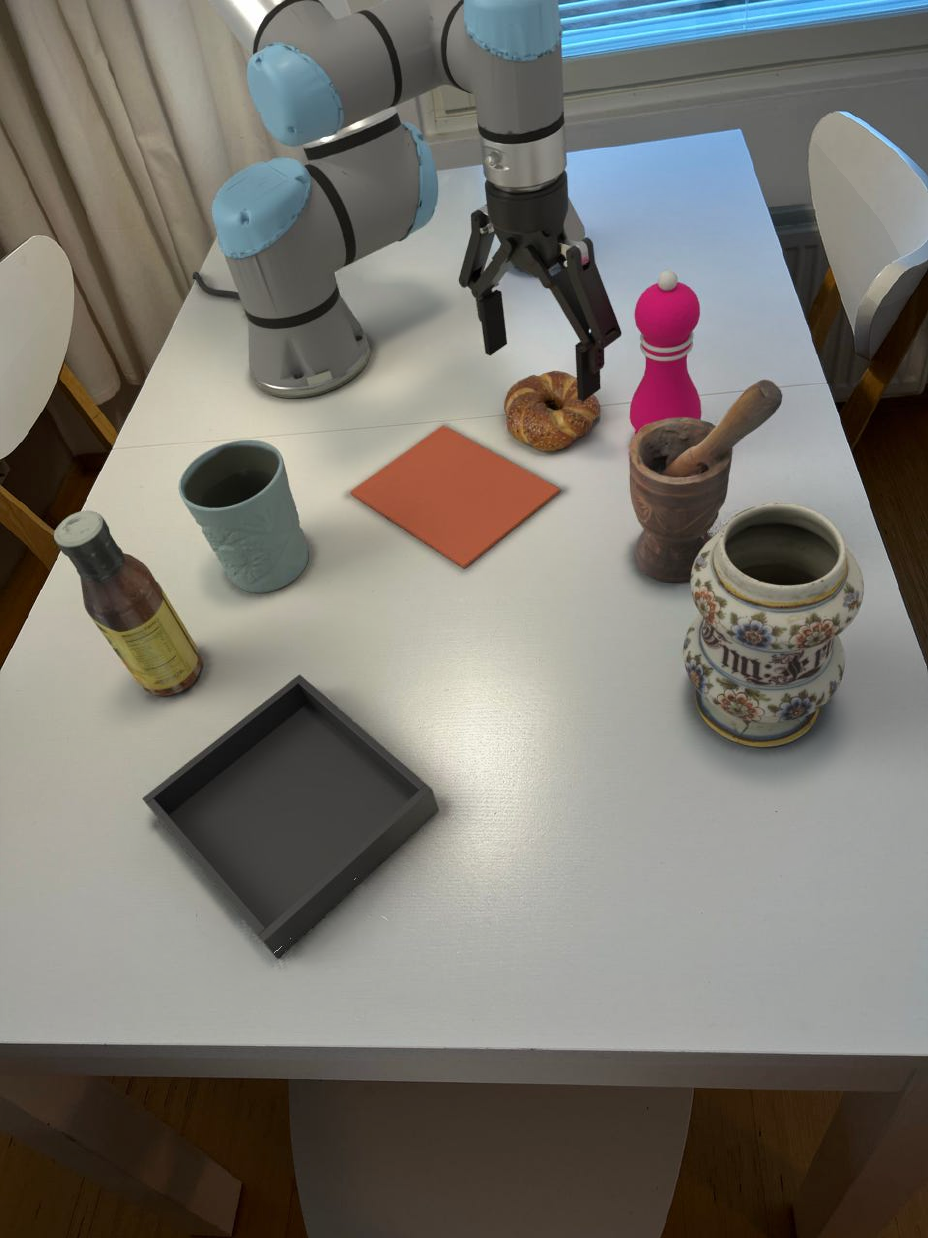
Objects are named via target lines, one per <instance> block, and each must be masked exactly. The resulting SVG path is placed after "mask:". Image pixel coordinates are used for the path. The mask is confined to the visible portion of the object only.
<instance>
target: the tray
mask: <svg viewBox="0 0 928 1238" xmlns="http://www.w3.org/2000/svg"><path fill="white" fill-rule="evenodd" d="M142 801H143V802H144V803H145V804H146V806H147V807H148V809H150V811H151V812H152V813H153V815H154V816H155V817H156V818H157V819H158V820H159V822H160V823H161V824H162V826H164V828H165V829H166V830H167V831H168V833H169V834H170V835H171V836H172V837H173V838H174V839H175V841H176V842H177V843H178V844H179V845H180V847H181V848H182V849H183V850H184V851H185V852H186V853H187V855H188V856H189V857H190V859H192V861H193V862H194V863H195V864H196V865H197V866H198V868H199V869H200V870H201V871H202V872H203V874H204V875H205V876H206V877H207V878H208V879H209V880H210V882H211V883H212V884H213V886H214V887H215V888H216V889H217V890H218V891H219V892H220V894H221V895H222V897H224V898H225V899H226V901H227V902H228V903H229V904H230V906H232V908H233V909H234V910H235V912H236V913H237V914H238V915H239V916H240V917H241V919H243V920H244V921H245V923H246V924H247V925H248V926H249V928H250V929H251V930H252V931H253V932H254V934H255V935H256V936H257V937H258V936H259V937H258V938H259V939H260V941H261V942H262V943H263V944H264V946H266V947H267V949H268V950H269V951H270V952H271V953H272V955H273V956H274V957H275V958H276V959H277V960H279V959H280V958H281V957H282V956H283V955H284V954H285V953H286V952H287V951H288V950H289V949H290V948H291V947H292V946H294V945H295V944H296V943H297V942H298V941H299V940H300V939H301V938H302V937H304V935H306V934H307V933H308V932H309V931H310V930H311V929H312V928H313V927H314V926H315V925H316V924H318V922H320V921H321V920H322V919H323V918H324V917H325V916H326V915H327V914H328V913H329V912H330V911H331V910H333V908H335V907H336V906H337V905H338V904H340V902H342V900H344V898H345V897H347V896H348V895H349V894H350V893H351V892H352V891H353V890H354V889H355V888H357V887H358V885H359V884H361V883H362V882H363V881H364V880H365V879H366V878H367V877H369V876H370V875H371V873H373V872H374V871H375V870H376V869H377V868H378V867H379V866H380V865H381V864H382V863H384V862H385V861H386V860H387V859H388V858H389V857H390V856H391V855H392V854H393V853H394V852H395V851H396V850H397V849H398V848H400V847H401V846H402V845H403V844H404V843H405V842H406V841H408V839H410V838H411V836H413V835H414V834H415V833H416V832H417V831H418V830H419V829H420V828H421V827H423V825H425V824H426V822H428V821H430V819H431V818H432V817H433V816H434V815H436V813H438V811H439V810H440V809H439V806H438V803H437V801H436V797H435V794H434V791H433V789H432V787H431V786H429V785H428V784H427V783H426V782H425V781H423V779H422V778H420V777H419V776H418V775H417V774H416V773H415V772H413V771H412V770H411V769H410V768H408V767H407V766H406V765H405V764H404V763H403V762H401V761H400V760H399V759H398V758H397V757H396V756H395V755H393V754H392V752H390V751H389V750H387V748H386V747H384V746H383V745H382V744H381V743H380V742H379V741H377V739H375V738H374V737H373V736H371V735H370V734H369V732H367V731H366V730H365V729H363V727H361V726H360V725H359V724H358V723H357V722H356V721H354V720H353V719H352V718H351V717H350V716H349V715H347V714H346V713H345V712H344V711H343V710H342V709H341V708H339V707H338V706H337V705H336V704H335V703H333V702H332V700H330V699H329V698H328V697H327V696H326V695H324V694H323V693H322V692H321V691H320V690H319V689H318V688H316V687H315V686H314V685H313V684H311V683H310V682H309V681H308V680H307V679H306V678H305V677H303V675H301V674H298V675H297V676H296V677H294V678H293V679H292V680H290V681H289V682H288V683H287V684H285V685H283V687H281V688H280V689H279V690H277V691H276V692H275V693H274V694H273V695H271V696H270V697H268V699H266V700H265V701H264V702H262V703H261V704H260V705H258V706H257V707H256V708H254V709H253V710H252V711H251V712H250V713H248V714H247V715H246V716H245V717H243V718H242V719H241V720H239V721H238V722H237V723H236V724H234V725H233V726H232V727H231V728H229V729H228V730H227V731H225V732H224V733H223V734H222V735H221V736H219V737H218V738H217V739H215V740H214V741H213V742H212V743H210V744H209V745H208V746H207V747H206V748H204V749H203V750H201V751H200V752H199V753H197V754H196V755H195V756H194V757H193V758H191V759H190V760H189V761H187V762H186V763H185V764H183V765H182V766H181V767H180V768H179V769H177V770H176V771H175V772H173V774H171V775H170V776H169V777H167V778H166V779H165V780H163V781H162V782H161V783H159V784H158V785H157V786H156V787H155V788H153V789H152V790H151V791H150V792H148V793H147V794H146V795H145V796H143V797H142ZM355 878H356V879H355ZM354 879H355V880H354ZM290 938H291V939H290ZM281 946H282V947H281ZM280 947H281V948H280ZM279 948H280V949H279ZM278 949H279V950H278ZM276 950H278V951H276ZM275 951H276V952H275ZM274 952H275V953H274ZM273 953H274V954H273Z"/></svg>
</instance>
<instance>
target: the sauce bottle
mask: <svg viewBox="0 0 928 1238" xmlns="http://www.w3.org/2000/svg"><path fill="white" fill-rule="evenodd" d="M53 539H54V541H55V544H56V545H57V547H58V549H59V550H60V551H61V553H62V554H63V555H64V556H66V557H68V560H69V561H70V562H71V563H72V564H73V566H74V568H75V569H76V573H77V574H78V575H79V579H80V585H81V591H82V593H81V594H82V600H83V606H84V609H85V611H86V613H87V615H89V617H90V619H91V620H92V621H93V623H94V624H95V625H96V627H97V628H98V629H99V631H100V632H101V634H102V635H103V636H104V638H105V639H106V641H107V642H108V644H109V645H110V647H112V650H113V651H114V652H115V654H116V655H117V657H118V658H119V659H120V660H121V662H122V663H123V665H124V666H125V668H126V669H127V671H128V673H130V674H131V676H132V677H133V679H134V680H135V681H136V683H137V684H138V685H140V686H141V687H142V689H143V690H144V691H145V692H146V693H147V692H148V693H149V694H152V695H154V696H161V697H168V696H173V695H175V694H179V693H181V692H183V691H185V690H186V689H188V688H190V686H192V685H193V684H194V683H195V681H196V680H197V678H198V677H199V674H200V672H201V669H202V665H203V661H202V656H201V654H200V653H199V651H198V646H197V644H196V643H195V641H194V640H193V638H192V636H191V634H190V633H189V631H188V629H187V628H186V626H185V624H184V623H183V620H182V619H181V618H180V616H179V614H178V613H177V611H176V609H175V608H174V606H173V605H172V603H171V601H170V599H169V598H168V596H167V594H166V593H165V591H164V589H163V588H162V586H161V585H160V583H159V582H158V581H156V578H155V577H154V575H153V573H152V572H151V570H150V569H149V567H148V566H147V565H146V564H145V563H144V562H143V561H141V560H140V559H139V558H136V557H134V556H133V555H131V554H128V553H124V552H123V549H122V548H121V547H120V546H119V545H118V544H117V542H116V541H115V539H114V537H113V535H112V534H111V530H110V527H109V525H108V523H107V521H106V520H105V518H104V517H103V515H102V514H100V513H98V512H97V511H95V510H81V511H78V512H77V511H76V512H75V513H73V514H70V515H68V516H67V517H65V519H63V520H62V521H61V522H60V523H59V524H58V526H57V527H56V529H54V532H53Z"/></svg>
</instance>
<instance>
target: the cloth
mask: <svg viewBox="0 0 928 1238" xmlns="http://www.w3.org/2000/svg"><path fill="white" fill-rule="evenodd" d="M560 492H561V489H560V488H559V487H557V486H556V485H554V484H552V483H550V482H548V481H546V480H545V479H543V478H541V477H539V476H537V475H535V474H533V473H532V472H530V471H528V470H527V469H525V468H523V467H521V466H519V465H517V464H515V463H513V462H512V461H510V460H508V459H506V458H505V457H503V456H500V455H499V454H497V453H495V452H493V451H491V450H490V449H487V448H486V447H484V446H482V445H480V444H478V443H477V442H474V441H473V440H471V439H469V438H468V437H465V436H463V435H462V434H460V433H458V432H456V431H455V430H454V429H453V430H452V429H451V428H449V427H447V426H445V425H442V426H440V427H438V428H437V429H435V430H434V431H433V432H432V433H430V434H429V435H427V436H426V437H425V438H423V439H422V440H420V441H419V442H417V443H416V444H414V446H412V447H411V448H409V449H408V450H406V451H405V452H403V453H402V454H401V455H399V456H398V457H396V458H395V459H394V460H392V461H391V462H389V463H388V464H386V465H385V466H384V467H382V468H381V469H379V470H378V471H377V472H375V473H374V474H372V476H370V477H369V478H367V479H366V480H365V481H363V482H361V483H360V484H359V485H357V486H356V487H354V488H353V489H352V490H350V491H349V493H350V495H351V496H352V497H354V498H356V499H357V500H359V501H360V502H362V503H363V504H365V505H367V506H368V507H369V508H371V509H373V510H374V511H375V512H377V513H378V514H380V515H382V516H383V517H385V518H386V519H388V520H389V521H391V522H392V523H394V524H395V525H397V526H398V527H400V528H401V529H403V530H404V531H406V532H408V533H409V534H411V535H412V536H414V537H415V538H417V539H418V540H420V541H422V542H423V543H425V544H426V545H427V546H429V547H431V548H432V549H433V550H435V551H437V552H438V553H440V554H441V555H442V556H444V557H445V558H446V559H448V560H450V561H452V562H453V563H455V564H456V565H458V566H459V567H461V568H463V569H465V568H467V567H469V565H470V564H472V563H473V562H474V561H476V560H477V559H478V558H479V557H480V556H482V555H484V554H485V553H486V552H487V551H488V550H489V549H490V548H492V547H493V546H495V544H498V542H499V541H501V540H502V539H503V538H504V537H506V536H507V535H508V534H509V533H510V532H512V531H513V530H514V529H516V528H517V527H518V526H519V525H521V524H523V522H524V521H526V520H527V519H528V518H529V517H530V516H532V515H533V514H534V513H536V512H537V511H538V510H539V509H541V508H542V507H543V506H544V505H545V504H547V503H548V502H549V501H550V500H551V499H553V498H554V497H556V496H557V495H558V494H559V493H560Z"/></svg>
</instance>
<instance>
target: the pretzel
mask: <svg viewBox="0 0 928 1238" xmlns="http://www.w3.org/2000/svg"><path fill="white" fill-rule="evenodd" d="M503 408H504V413H505V415H506V419H505V421H506V426H507V430H508V432H509V433H510V434H511V436H512V437H513V438H514V439H515V440H517V441H518V442H520V443H522V444H525V445H526V444H527V445H530V446H531V447H533V448H534V449H535V450H537V451H541V452H556V451H559V450H561V449H564V448H567V447H568V446H570V445H571V444H573V442H574V441H575V440H576V438H580V437H584V436H586V435H587V434H589V432H590V430H591V429H592V427H593V423H594V422H593V421H595V420H597V418H598V417H599V415H600V414H601V411H602V409H601V405H600V402H599V400H598V399H597V397H596V396H595V393H594V394H593V395H591V396H590V397H589V398H587V399H586V400H585V401H584V402H583V401H581V400H579V399H578V393H577V376H576V377H575V376H574V375H571V374H570V373H567V372H564V371H560V370H551V371H548V372H544V373H541V374H540V375H536V374H531V375H529V376H527V377H524V378H522V379H520V380H518V381H517V382H516V383H515V384H513V385H512V386H511V387H510V388H509V389H508V391H507V392H506V394H505V398H504V402H503ZM554 409H555V410H554Z"/></svg>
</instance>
